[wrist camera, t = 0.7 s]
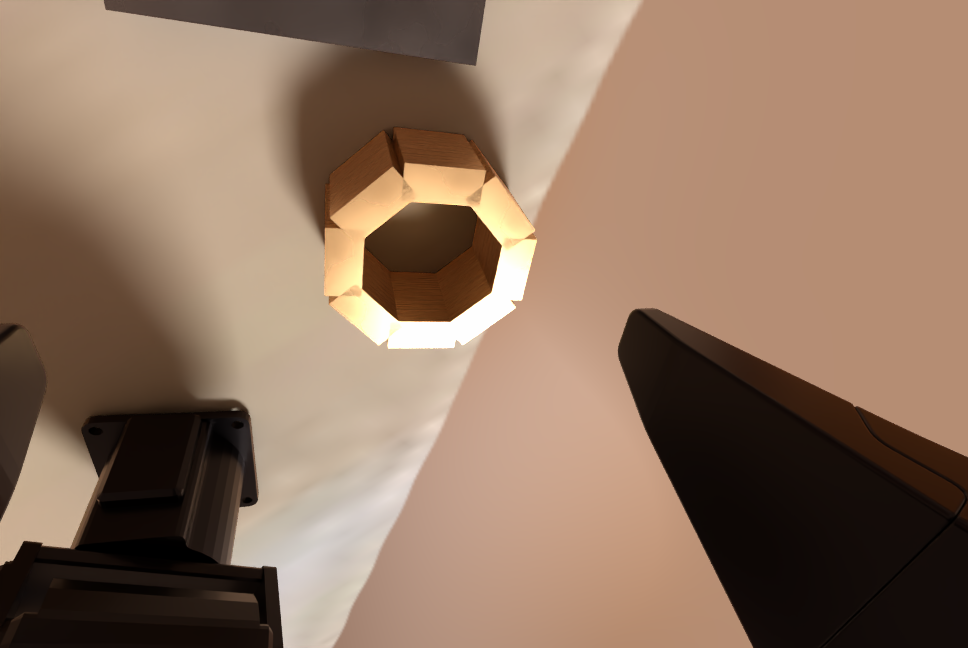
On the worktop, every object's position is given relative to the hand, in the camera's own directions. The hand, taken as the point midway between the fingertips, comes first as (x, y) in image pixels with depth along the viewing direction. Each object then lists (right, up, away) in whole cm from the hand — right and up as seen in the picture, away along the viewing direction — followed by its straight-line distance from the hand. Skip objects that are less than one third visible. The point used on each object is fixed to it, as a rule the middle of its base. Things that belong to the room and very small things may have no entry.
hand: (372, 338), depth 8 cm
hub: (-1, +4, +12) cm, 13 cm away
